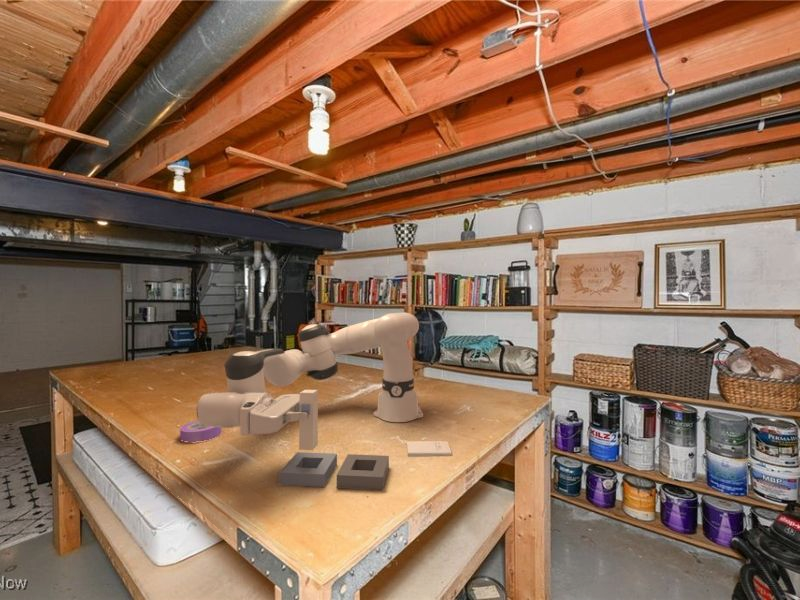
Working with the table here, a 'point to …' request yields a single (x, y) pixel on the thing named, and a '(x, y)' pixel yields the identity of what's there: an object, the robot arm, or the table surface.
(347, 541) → the table surface
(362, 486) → the socket
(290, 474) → the socket
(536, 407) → the table surface
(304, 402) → the plug
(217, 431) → the masking tape
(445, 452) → the external hard drive
